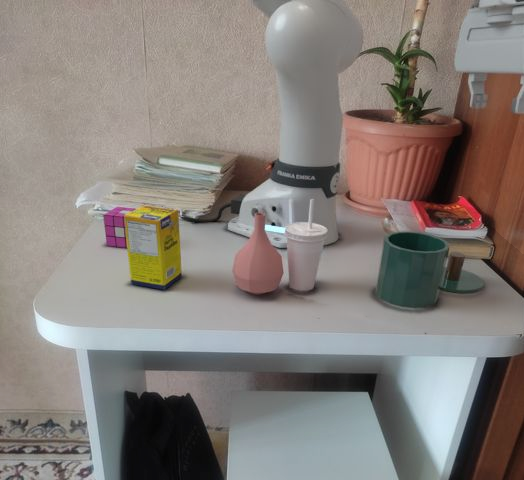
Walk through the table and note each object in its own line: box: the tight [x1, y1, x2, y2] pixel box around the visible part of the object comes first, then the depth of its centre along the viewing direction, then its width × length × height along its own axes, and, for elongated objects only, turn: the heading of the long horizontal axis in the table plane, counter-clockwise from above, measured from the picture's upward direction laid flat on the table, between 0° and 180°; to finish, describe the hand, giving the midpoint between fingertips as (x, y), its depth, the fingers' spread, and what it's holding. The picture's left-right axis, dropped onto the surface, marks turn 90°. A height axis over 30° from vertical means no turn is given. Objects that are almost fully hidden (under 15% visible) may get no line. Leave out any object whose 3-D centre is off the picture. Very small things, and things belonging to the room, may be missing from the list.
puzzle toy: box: [102, 206, 137, 249], centre depth 94 cm, size 6×6×6 cm
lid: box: [440, 251, 484, 294], centre depth 83 cm, size 10×10×5 cm
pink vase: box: [232, 213, 284, 296], centre depth 76 cm, size 8×8×12 cm
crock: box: [375, 230, 451, 309], centre depth 77 cm, size 9×9×9 cm
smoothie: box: [284, 199, 328, 292], centre depth 77 cm, size 6×6×14 cm
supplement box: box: [124, 205, 183, 291], centre depth 79 cm, size 6×6×11 cm
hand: (497, 110), depth 72 cm, fingers open, 8 cm apart
